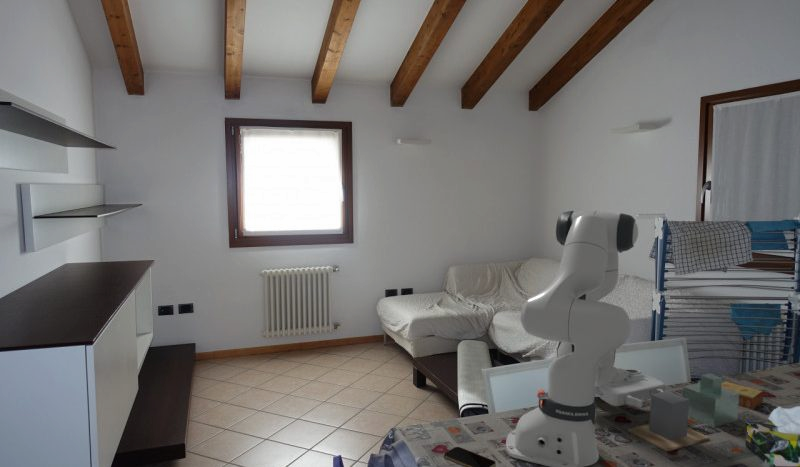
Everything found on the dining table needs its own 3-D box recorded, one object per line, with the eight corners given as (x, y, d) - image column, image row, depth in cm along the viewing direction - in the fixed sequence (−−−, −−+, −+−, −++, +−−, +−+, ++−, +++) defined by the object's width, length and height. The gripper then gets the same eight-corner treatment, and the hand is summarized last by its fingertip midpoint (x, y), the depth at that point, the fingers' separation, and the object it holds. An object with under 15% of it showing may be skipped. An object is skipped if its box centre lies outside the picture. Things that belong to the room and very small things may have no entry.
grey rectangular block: (669, 440, 136) (672, 403, 135) (649, 430, 141) (651, 394, 140) (686, 436, 138) (689, 399, 137) (665, 425, 144) (667, 390, 143)
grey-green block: (713, 427, 145) (716, 385, 144) (681, 412, 154) (683, 373, 153) (737, 420, 149) (740, 379, 148) (704, 407, 158) (706, 368, 157)
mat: (666, 451, 131) (666, 449, 131) (628, 431, 142) (628, 429, 142) (709, 439, 138) (709, 437, 138) (669, 420, 148) (669, 418, 148)
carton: (752, 410, 156) (753, 397, 156) (696, 394, 169) (696, 381, 168) (763, 403, 161) (763, 390, 161) (707, 387, 174) (707, 375, 174)
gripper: (590, 378, 151) (628, 396, 139) (641, 368, 159) (681, 384, 147) (589, 399, 152) (627, 419, 139) (640, 388, 160) (680, 406, 147)
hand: (655, 401), depth 143 cm, fingers open, 8 cm apart
